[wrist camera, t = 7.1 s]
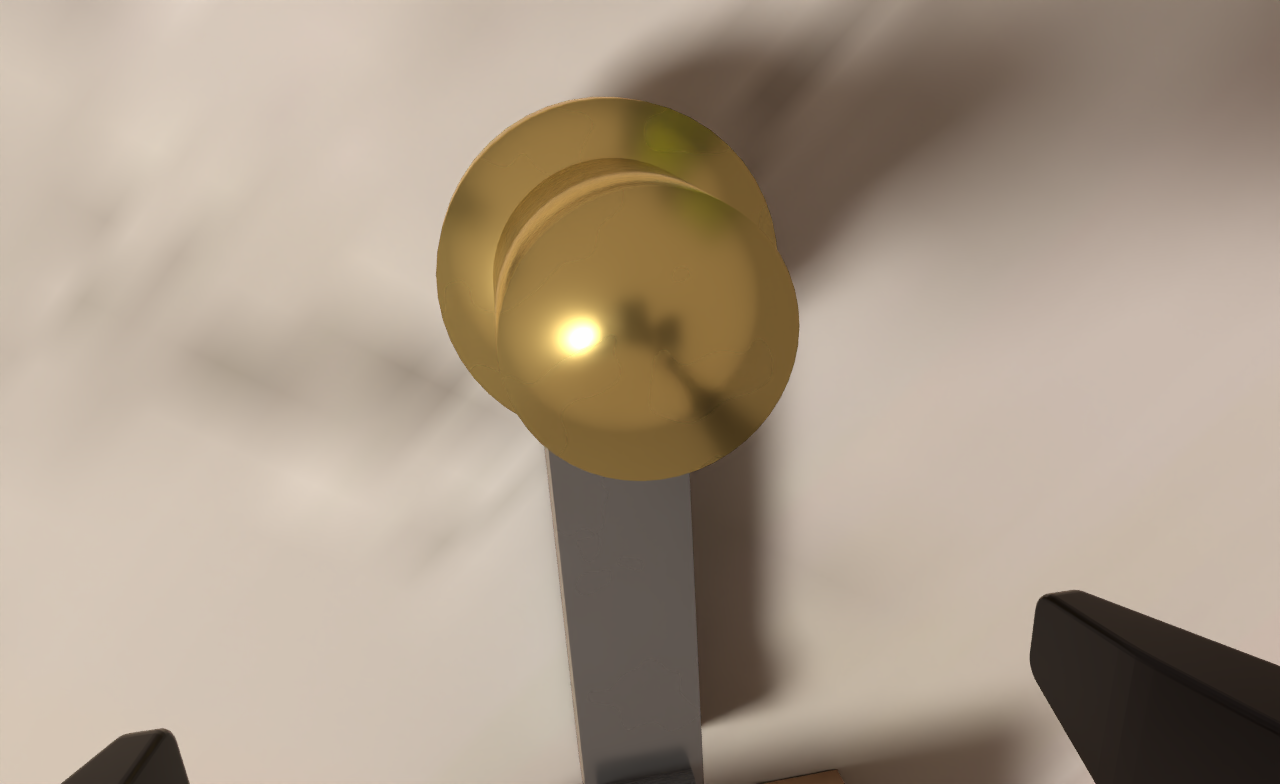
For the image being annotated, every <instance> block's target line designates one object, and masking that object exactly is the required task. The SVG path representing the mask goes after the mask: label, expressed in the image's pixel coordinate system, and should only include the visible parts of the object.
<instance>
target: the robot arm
mask: <svg viewBox="0 0 1280 784" xmlns="http://www.w3.org/2000/svg"><path fill="white" fill-rule="evenodd" d="M1030 666H1031V670H1032V673H1033V675H1034V678H1035V680H1036V682H1037V684H1038V685H1039V687H1040V689H1041V691H1042V692H1043V694H1044V696H1045V697H1046V699H1047V701H1048V703H1049V704H1050V706H1051V708H1052V709H1053V711H1054V713H1055V715H1056V716H1057V718H1058V720H1059V721H1060V723H1061V725H1062V727H1063V728H1064V730H1065V732H1066V733H1067V735H1068V737H1069V739H1070V740H1071V742H1072V744H1073V746H1074V747H1075V749H1076V751H1077V752H1078V754H1079V756H1080V758H1081V759H1082V761H1083V763H1084V764H1085V766H1086V768H1087V770H1088V771H1089V773H1090V775H1091V776H1092V778H1093V780H1094V782H1095V783H1096V784H1280V666H1278V665H1276V664H1273V663H1271V662H1268V661H1265V660H1263V659H1260V658H1257V657H1255V656H1252V655H1249V654H1247V653H1244V652H1242V651H1239V650H1236V649H1234V648H1231V647H1228V646H1226V645H1223V644H1220V643H1218V642H1215V641H1212V640H1210V639H1207V638H1205V637H1202V636H1199V635H1197V634H1194V633H1191V632H1189V631H1186V630H1183V629H1181V628H1178V627H1176V626H1173V625H1170V624H1168V623H1165V622H1162V621H1160V620H1157V619H1154V618H1152V617H1149V616H1147V615H1144V614H1141V613H1139V612H1136V611H1133V610H1131V609H1128V608H1125V607H1123V606H1120V605H1117V604H1115V603H1112V602H1110V601H1107V600H1104V599H1102V598H1099V597H1096V596H1094V595H1091V594H1088V593H1086V592H1083V591H1080V590H1069V591H1062V592H1056V593H1049V594H1045V595H1043V596H1042V597H1041V598H1040V599H1039V600H1038V602H1037V605H1036V610H1035V617H1034V625H1033V633H1032V640H1031V648H1030ZM61 784H190V783H189V780H188V777H187V774H186V770H185V767H184V764H183V760H182V757H181V754H180V751H179V747H178V744H177V741H176V739H175V737H174V735H173V734H172V732H171V731H169V730H167V729H164V728H161V729H154V730H147V731H141V732H134V733H129V734H125V735H122V736H120V737H119V738H117V739H116V740H115V741H113V742H112V743H111V744H110V745H108V746H107V747H106V748H105V749H103V750H102V751H101V752H100V753H98V754H97V755H96V756H95V757H93V758H92V759H91V760H90V761H88V762H87V763H86V764H85V765H84V766H82V767H81V768H80V769H79V770H77V771H76V772H75V773H74V774H72V775H71V776H70V777H69V778H67V779H66V780H65V781H64V782H62V783H61Z"/></svg>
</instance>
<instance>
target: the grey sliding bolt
mask: <svg viewBox="0 0 1280 784" xmlns="http://www.w3.org/2000/svg"><path fill="white" fill-rule="evenodd" d="M436 278H437V291H438V300H439V304H440V309H441V313H442V318H443V321H444V324H445V327H446V329H447V332H448V335H449V337H450V340H451V342H452V344H453V346H454V348H455V350H456V352H457V353H458V355H459V357H460V359H461V361H462V362H463V363H464V365H465V366H466V368H467V369H468V370H469V372H470V373H471V375H472V376H473V377H474V379H475V380H476V381H477V382H478V383H479V384H480V385H481V386H482V387H483V388H484V389H485V390H486V391H487V392H488V393H489V394H490V395H491V396H492V397H494V398H495V399H496V400H497V401H498V402H500V403H501V404H502V405H503V406H504V407H506V408H508V409H509V410H511V411H512V412H514V413H516V414H517V415H518V416H519V417H520V419H521V420H522V422H523V423H524V425H525V426H526V427H527V429H528V430H529V431H530V432H531V433H532V434H533V435H534V436H535V438H536V439H537V440H538V441H539V442H540V443H541V444H542V445H544V448H545V457H546V466H547V475H548V484H549V493H550V502H551V511H552V519H553V528H554V537H555V546H556V555H557V564H558V573H559V582H560V591H561V600H562V609H563V618H564V627H565V636H566V645H567V654H568V662H569V671H570V680H571V689H572V698H573V707H574V716H575V725H576V734H577V743H578V752H579V761H580V768H581V775H582V781H583V784H704V778H703V756H702V734H701V713H700V691H699V669H698V647H697V625H696V604H695V582H694V560H693V538H692V516H691V495H690V472H693V471H696V470H699V469H701V468H703V467H705V466H707V465H710V464H712V463H714V462H716V461H717V460H719V459H721V458H722V457H724V456H726V455H727V454H729V453H731V452H732V451H733V450H734V449H736V448H737V447H738V446H740V445H741V444H742V443H743V442H745V441H746V440H747V439H748V438H749V437H750V436H751V435H752V434H753V433H754V432H755V431H756V430H757V429H758V428H759V427H760V426H761V424H762V423H763V422H764V421H765V420H766V418H767V417H768V416H769V415H770V413H771V412H772V410H773V409H774V407H775V405H776V404H777V402H778V401H779V399H780V397H781V395H782V393H783V391H784V389H785V387H786V385H787V383H788V380H789V377H790V374H791V371H792V368H793V365H794V362H795V357H796V352H797V347H798V337H799V313H798V304H797V299H796V294H795V289H794V286H793V283H792V280H791V277H790V274H789V271H788V269H787V267H786V265H785V263H784V261H783V259H782V257H781V255H780V254H779V252H778V251H777V244H776V237H775V232H774V227H773V222H772V218H771V215H770V213H769V210H768V207H767V204H766V201H765V198H764V196H763V194H762V192H761V190H760V188H759V186H758V184H757V182H756V180H755V179H754V177H753V176H752V174H751V173H750V171H749V170H748V168H747V167H746V165H745V164H744V163H743V161H742V160H741V159H740V158H739V157H738V156H737V154H736V153H735V152H734V151H733V150H732V149H731V148H730V147H729V146H728V145H727V144H726V143H725V142H724V141H723V140H722V139H720V138H719V137H718V136H717V135H716V134H714V133H713V132H712V131H711V130H709V129H708V128H706V127H705V126H703V125H701V124H700V123H698V122H697V121H695V120H693V119H692V118H690V117H688V116H686V115H683V114H681V113H679V112H677V111H674V110H672V109H670V108H667V107H663V106H660V105H656V104H652V103H649V102H645V101H640V100H634V99H627V98H620V97H588V98H581V99H574V100H568V101H565V102H561V103H558V104H554V105H551V106H547V107H545V108H543V109H541V110H538V111H536V112H534V113H532V114H529V115H527V116H525V117H524V118H522V119H521V120H519V121H517V122H516V123H514V124H513V125H511V126H509V127H508V128H506V129H505V130H504V131H503V132H502V133H500V134H499V135H498V136H497V137H496V138H494V139H493V140H492V141H491V142H490V143H489V144H488V145H487V146H486V147H485V148H484V149H483V150H482V151H481V153H480V154H479V155H478V156H477V157H476V158H475V159H474V160H473V162H472V163H471V165H470V166H469V168H468V169H467V171H466V172H465V174H464V175H463V177H462V178H461V180H460V182H459V184H458V186H457V188H456V190H455V192H454V194H453V196H452V198H451V201H450V203H449V206H448V209H447V212H446V215H445V218H444V222H443V226H442V231H441V236H440V241H439V246H438V252H437V269H436Z"/></svg>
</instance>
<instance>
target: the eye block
mask: <svg viewBox="0 0 1280 784" xmlns="http://www.w3.org/2000/svg"><path fill="white" fill-rule="evenodd" d="M763 784H844V782H843V780H842V778H841V776H840V774H839V772H838V770H832V771H826V772H821V773H816V774H810V775H805V776H800V777H795V778H789V779H784V780H779V781H773V782H768V783H763Z"/></svg>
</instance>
